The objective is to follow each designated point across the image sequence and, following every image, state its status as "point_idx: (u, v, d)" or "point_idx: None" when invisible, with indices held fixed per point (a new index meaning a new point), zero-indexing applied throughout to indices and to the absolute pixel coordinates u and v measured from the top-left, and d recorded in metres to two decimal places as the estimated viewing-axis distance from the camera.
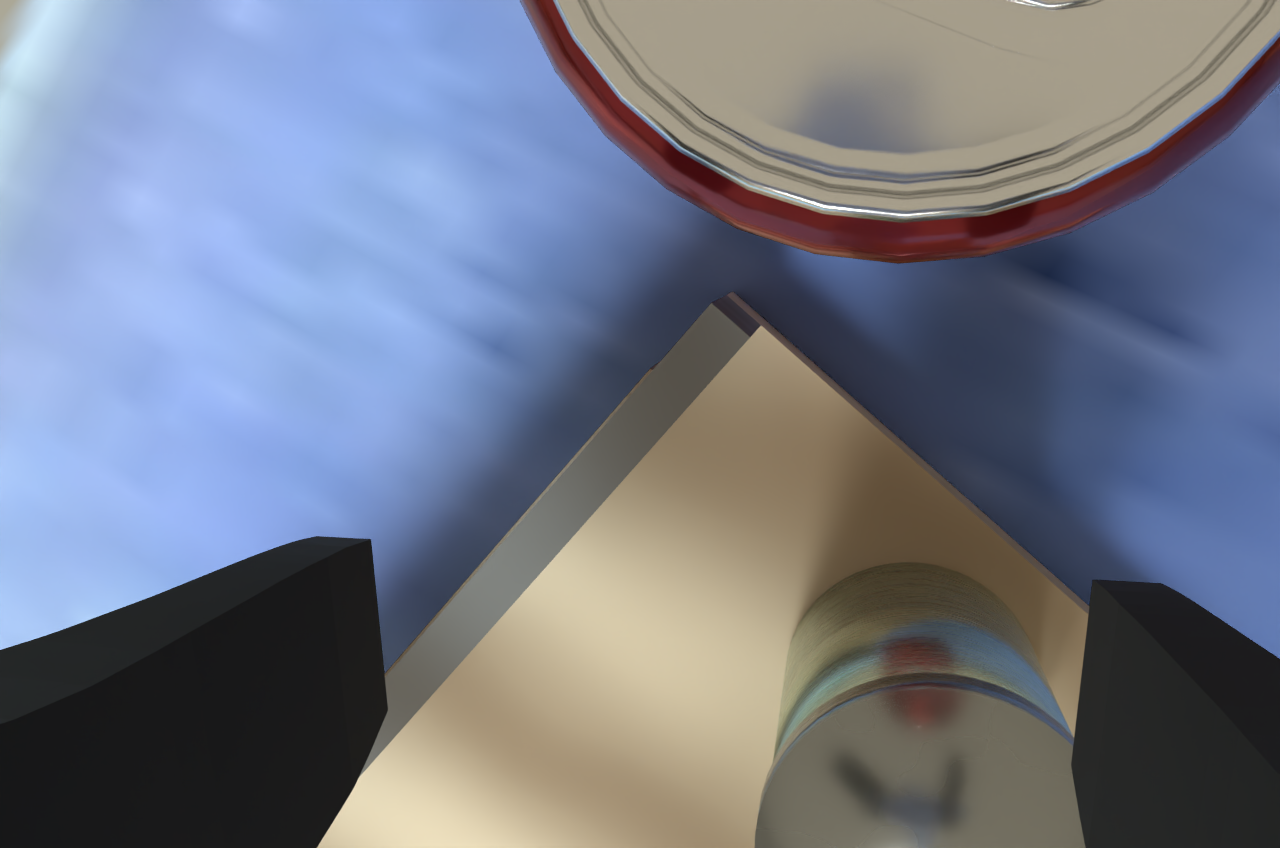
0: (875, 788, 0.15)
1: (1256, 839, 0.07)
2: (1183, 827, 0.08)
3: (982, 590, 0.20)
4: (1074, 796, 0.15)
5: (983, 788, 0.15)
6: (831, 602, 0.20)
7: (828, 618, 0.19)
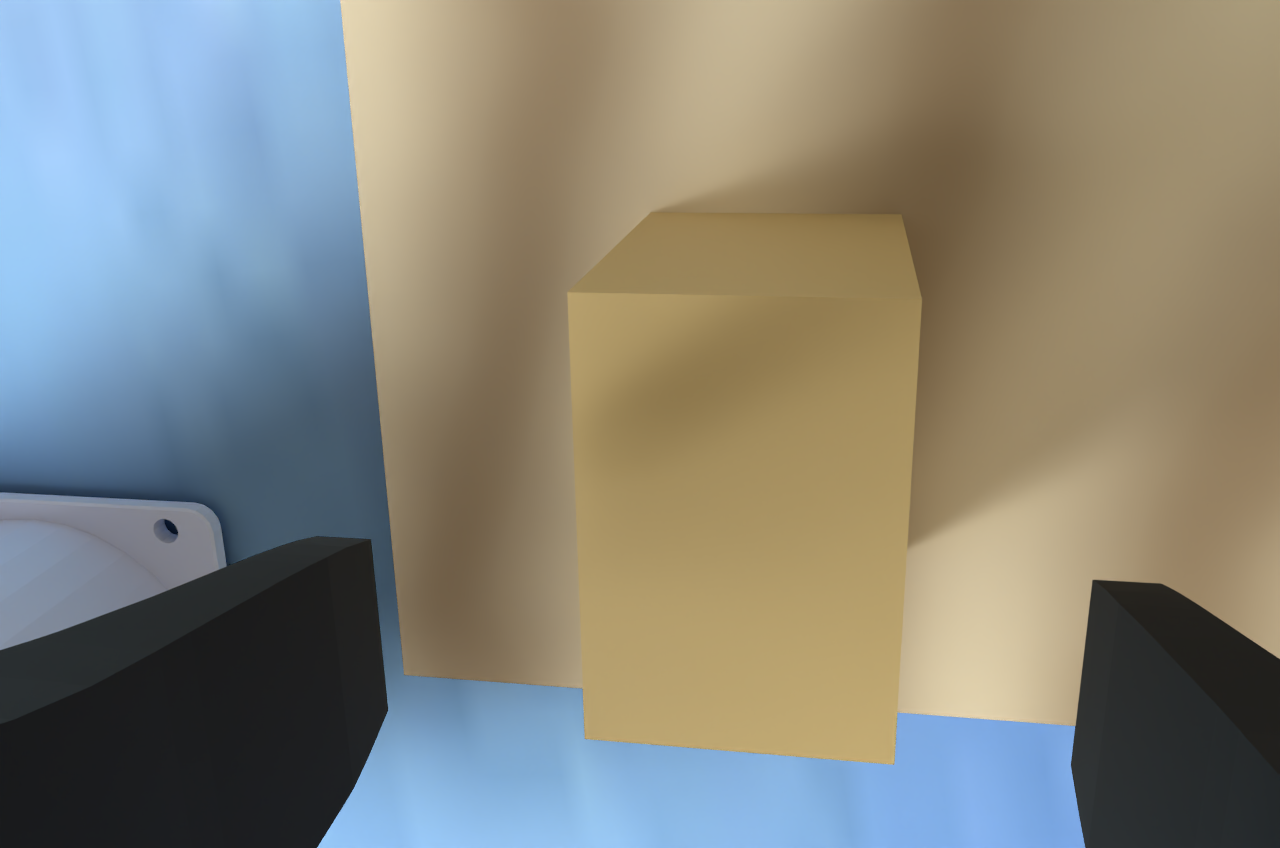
0: None
1: (1255, 839, 0.07)
2: (1183, 827, 0.08)
3: None
4: None
5: None
6: None
7: None
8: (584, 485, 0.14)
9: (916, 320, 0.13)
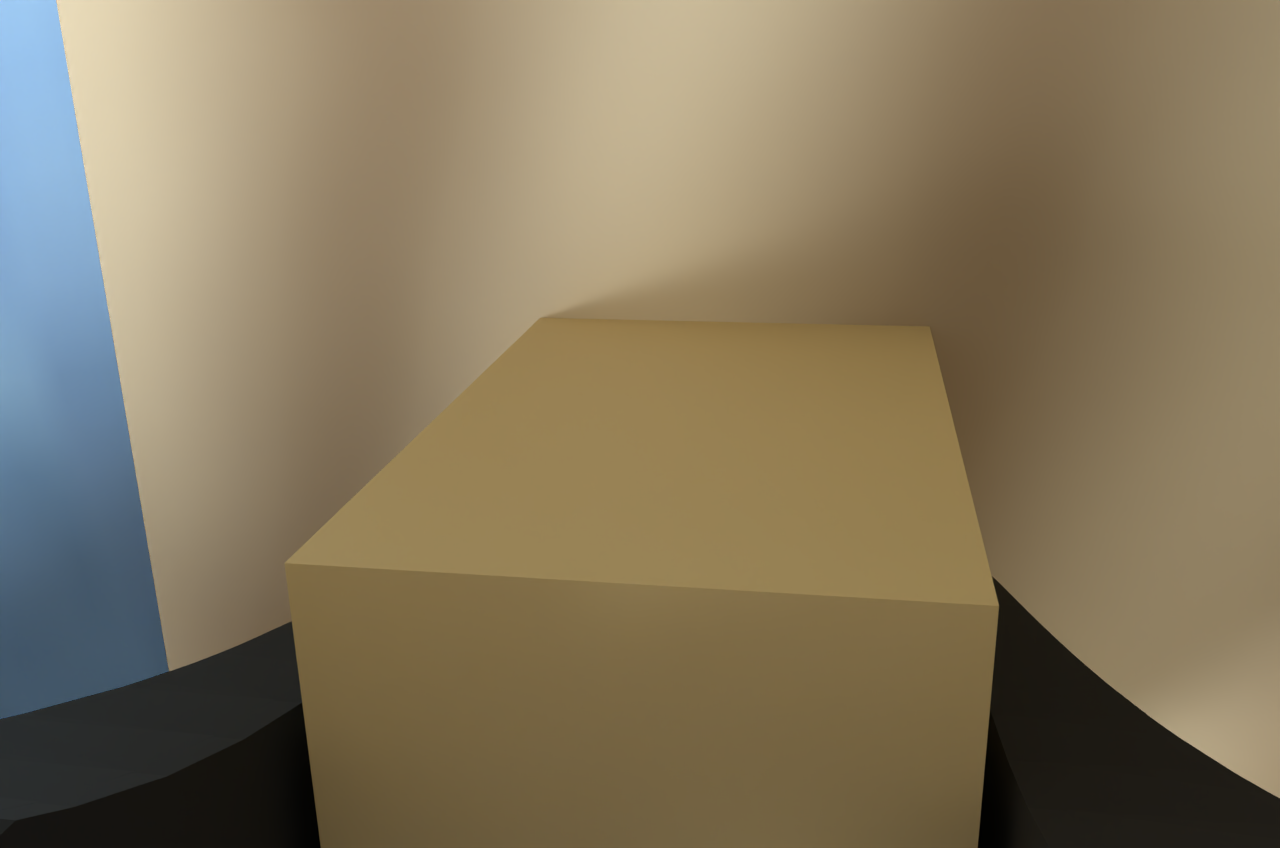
0: None
1: (995, 816, 0.07)
2: None
3: None
4: None
5: None
6: None
7: None
8: None
9: (986, 644, 0.06)
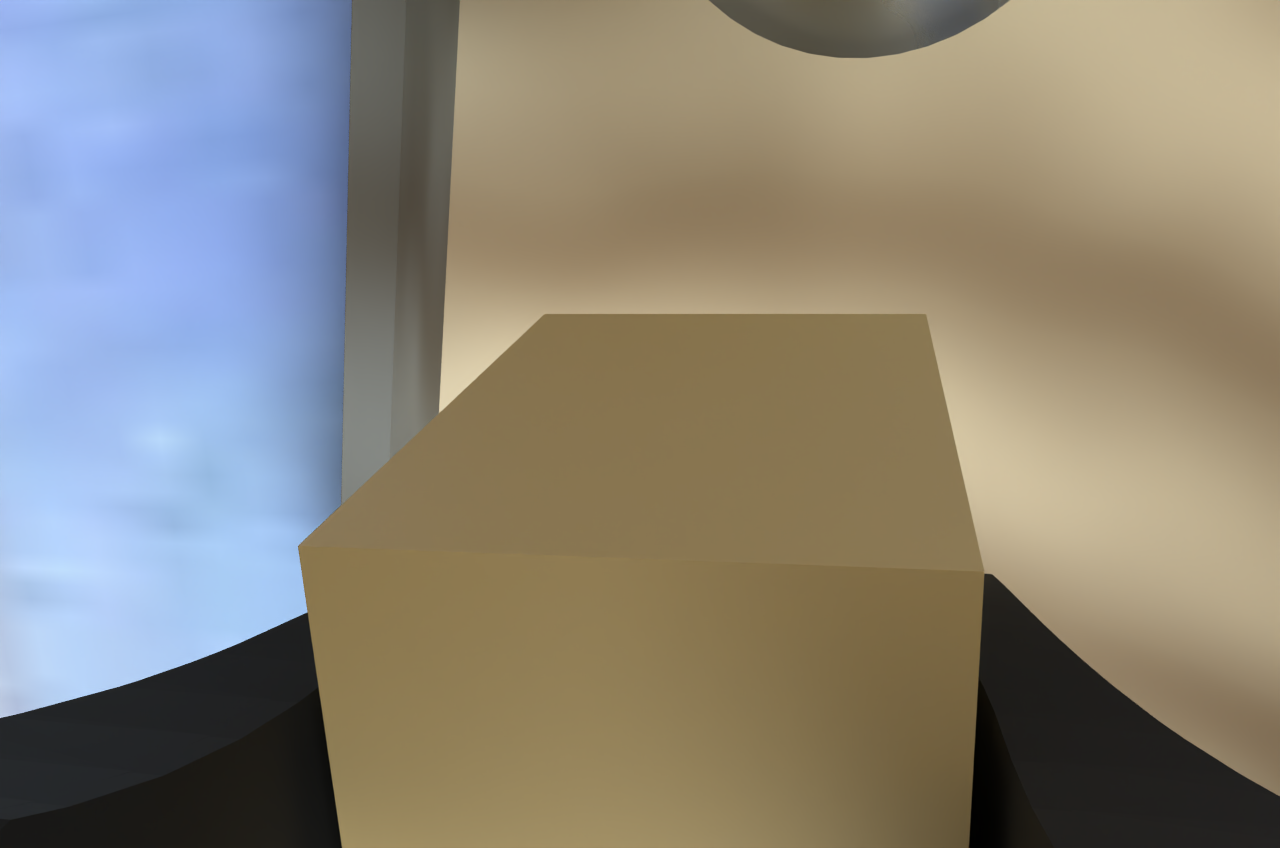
0: None
1: (999, 816, 0.07)
2: None
3: None
4: None
5: None
6: None
7: None
8: None
9: (972, 609, 0.07)
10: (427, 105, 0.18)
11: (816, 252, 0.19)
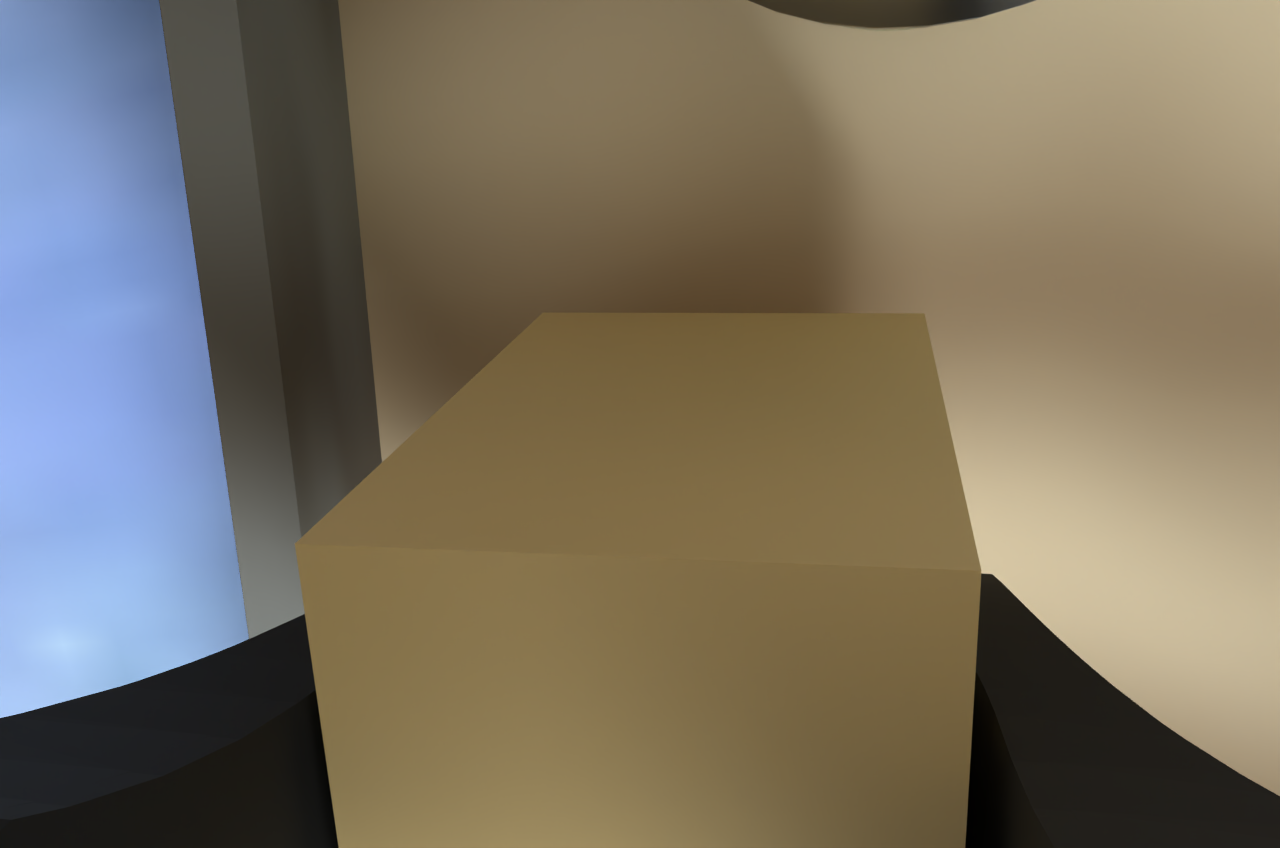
0: None
1: (998, 816, 0.07)
2: (967, 809, 0.09)
3: None
4: None
5: None
6: None
7: None
8: None
9: (970, 608, 0.07)
10: (307, 196, 0.13)
11: None
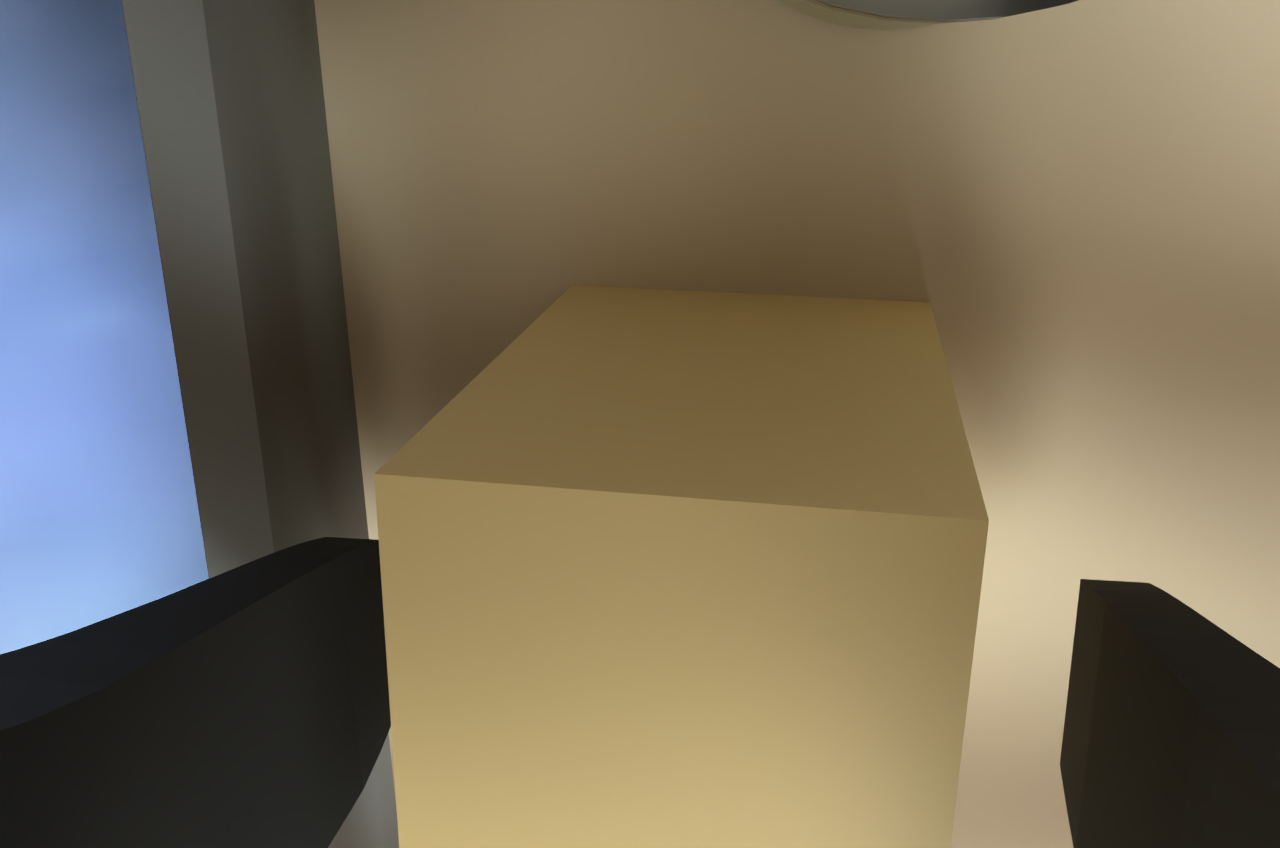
0: None
1: (1237, 837, 0.07)
2: (1168, 827, 0.08)
3: None
4: None
5: None
6: None
7: None
8: (410, 778, 0.09)
9: (976, 554, 0.07)
10: (281, 202, 0.12)
11: None
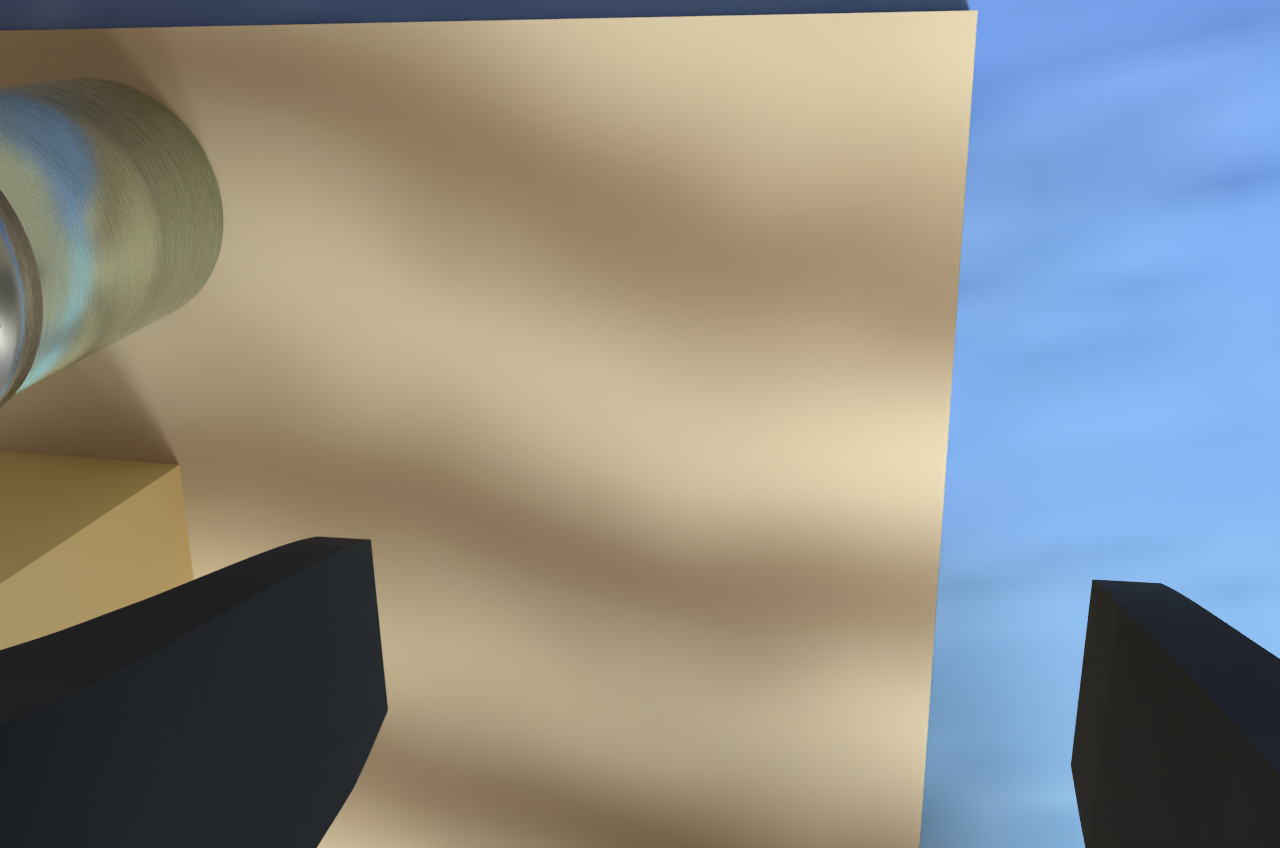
0: None
1: (1256, 839, 0.07)
2: (1183, 828, 0.08)
3: None
4: None
5: None
6: None
7: None
8: None
9: None
10: None
11: None
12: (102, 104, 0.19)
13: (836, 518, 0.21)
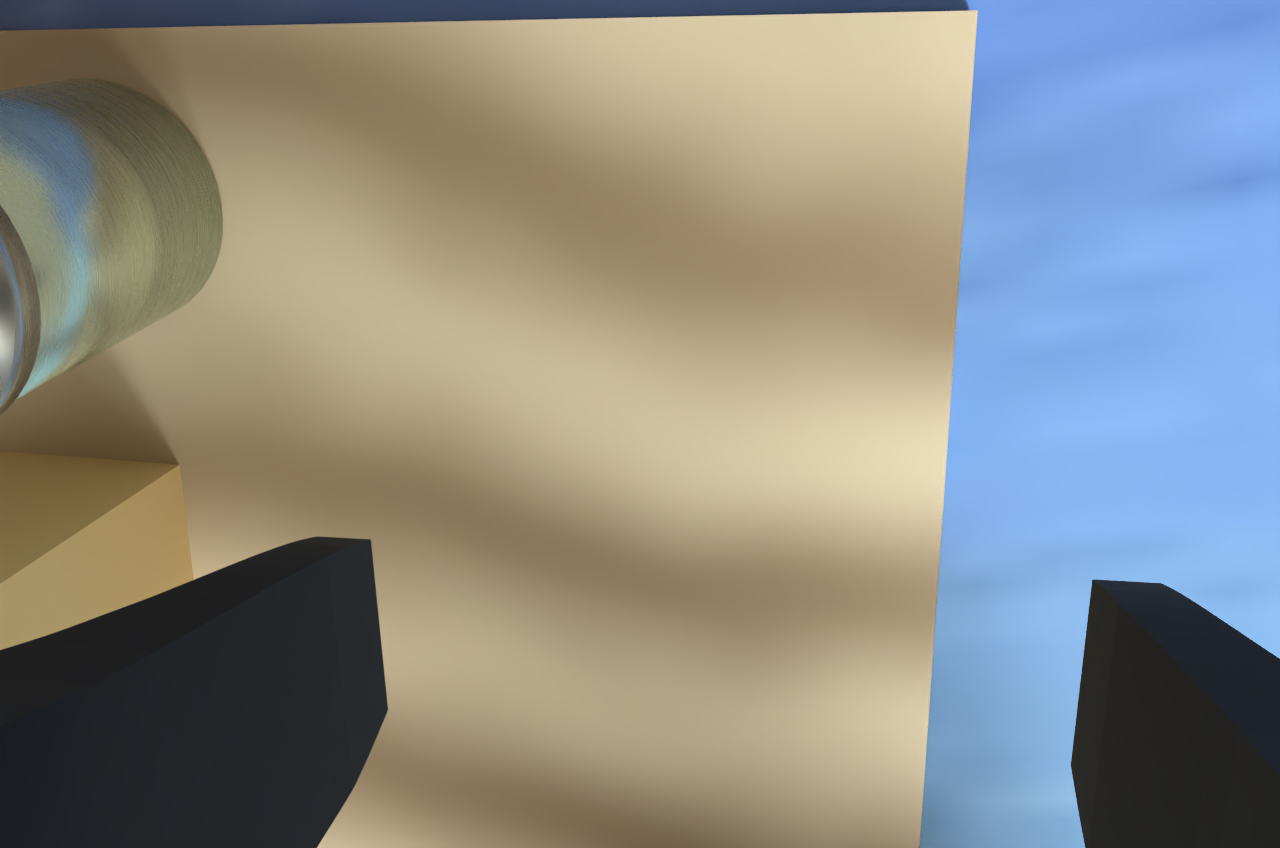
0: None
1: (1256, 839, 0.07)
2: (1183, 828, 0.08)
3: None
4: None
5: None
6: None
7: None
8: None
9: None
10: None
11: None
12: (89, 101, 0.19)
13: (836, 518, 0.21)
